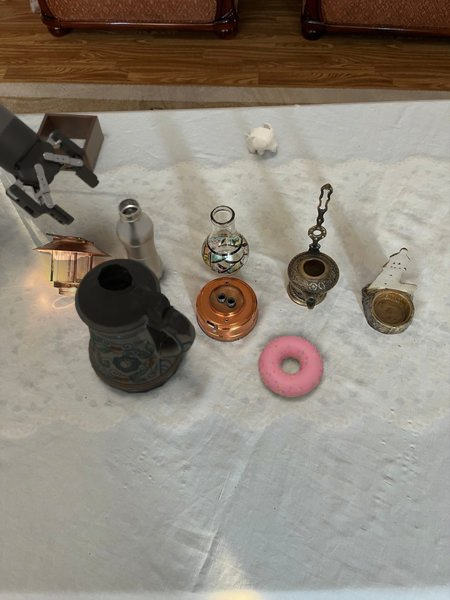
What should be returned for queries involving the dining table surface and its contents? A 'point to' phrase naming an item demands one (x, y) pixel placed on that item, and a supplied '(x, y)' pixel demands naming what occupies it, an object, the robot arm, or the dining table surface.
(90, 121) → the crate
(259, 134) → the elephant figurine
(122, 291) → the dark ceramic jug
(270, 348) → the doughnut
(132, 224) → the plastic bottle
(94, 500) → the dining table surface
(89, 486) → the dining table surface
